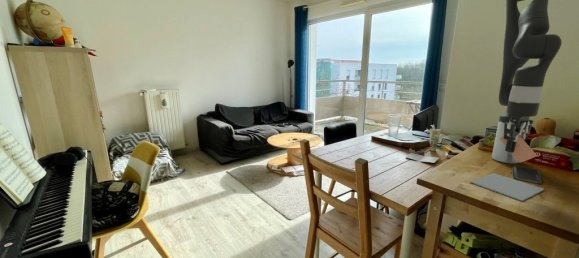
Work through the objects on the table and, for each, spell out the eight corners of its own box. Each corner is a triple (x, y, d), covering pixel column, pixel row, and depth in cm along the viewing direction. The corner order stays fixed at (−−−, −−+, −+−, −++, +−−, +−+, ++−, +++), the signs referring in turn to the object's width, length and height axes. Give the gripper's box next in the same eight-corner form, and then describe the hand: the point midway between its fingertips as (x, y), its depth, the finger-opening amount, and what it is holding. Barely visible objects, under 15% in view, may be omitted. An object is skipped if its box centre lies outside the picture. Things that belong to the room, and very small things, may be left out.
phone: (513, 176, 93) (512, 165, 104) (512, 179, 94) (512, 167, 105) (542, 183, 88) (539, 169, 99) (541, 185, 89) (538, 172, 100)
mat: (493, 174, 98) (493, 173, 98) (544, 190, 85) (544, 189, 85) (469, 182, 91) (470, 181, 90) (522, 201, 78) (522, 200, 78)
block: (531, 158, 79) (509, 132, 83) (519, 162, 82) (499, 138, 86) (537, 155, 81) (516, 131, 85) (526, 160, 84) (505, 136, 88)
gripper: (520, 98, 87) (510, 144, 91) (498, 100, 81) (489, 150, 85) (549, 100, 80) (537, 150, 84) (528, 103, 74) (516, 157, 78)
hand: (513, 150), depth 85 cm, fingers closed on block, 4 cm apart
